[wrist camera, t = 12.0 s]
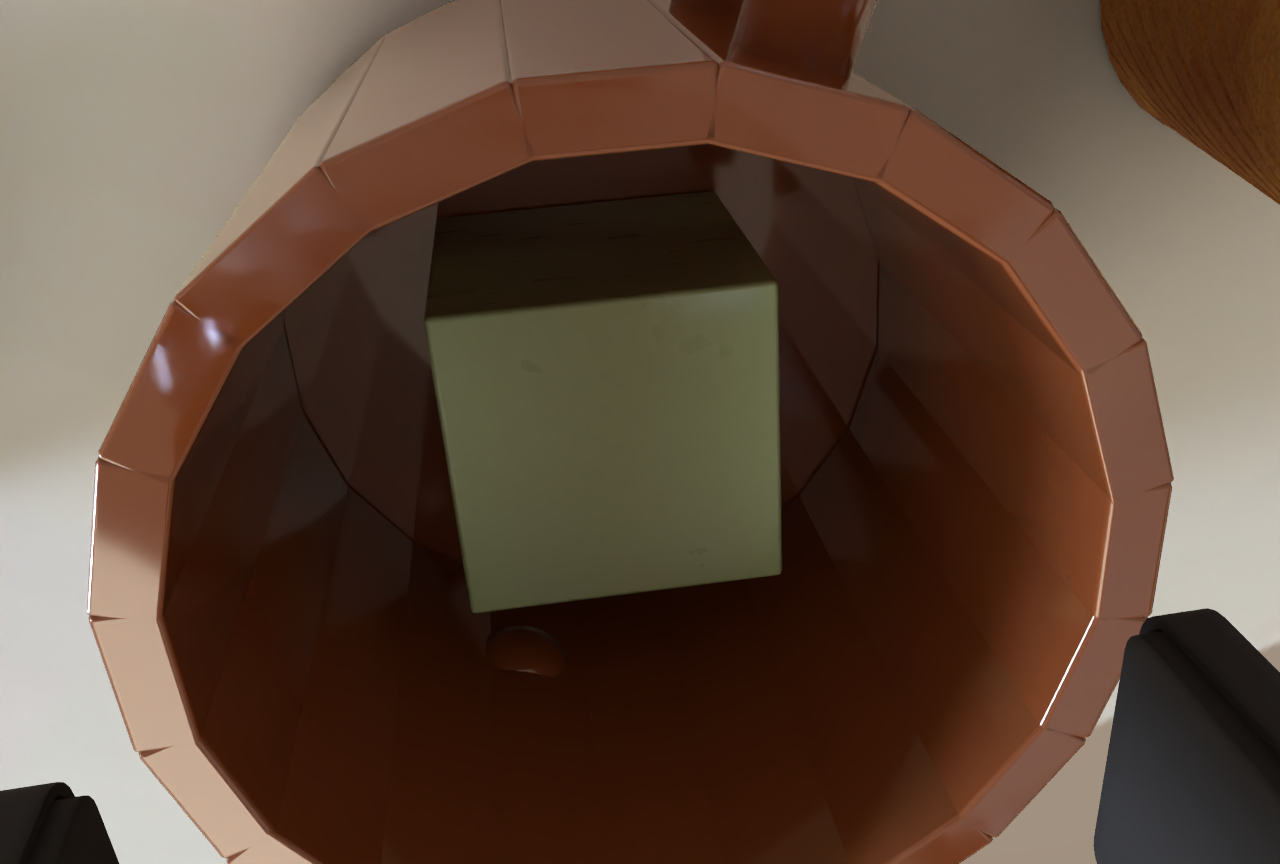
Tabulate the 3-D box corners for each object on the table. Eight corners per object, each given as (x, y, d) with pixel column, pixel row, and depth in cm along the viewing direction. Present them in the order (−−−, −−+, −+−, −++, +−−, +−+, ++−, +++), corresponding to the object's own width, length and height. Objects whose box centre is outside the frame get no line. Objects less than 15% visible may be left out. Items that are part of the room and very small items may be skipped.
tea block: (472, 466, 23) (470, 616, 18) (434, 217, 20) (422, 319, 16) (725, 437, 23) (783, 576, 19) (715, 188, 21) (780, 280, 16)
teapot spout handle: (514, 822, 25) (523, 1098, 19) (421, 811, 24) (403, 1091, 19) (848, -243, 17) (1031, -292, 11) (717, -291, 16) (840, -365, 11)
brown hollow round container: (319, 636, 24) (234, 1047, 16) (170, 7, 19) (-84, 132, 10) (898, 562, 25) (1106, 912, 17) (923, -56, 20) (1253, 12, 11)
